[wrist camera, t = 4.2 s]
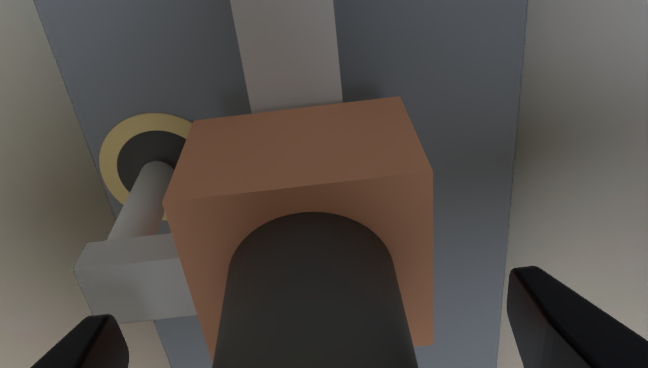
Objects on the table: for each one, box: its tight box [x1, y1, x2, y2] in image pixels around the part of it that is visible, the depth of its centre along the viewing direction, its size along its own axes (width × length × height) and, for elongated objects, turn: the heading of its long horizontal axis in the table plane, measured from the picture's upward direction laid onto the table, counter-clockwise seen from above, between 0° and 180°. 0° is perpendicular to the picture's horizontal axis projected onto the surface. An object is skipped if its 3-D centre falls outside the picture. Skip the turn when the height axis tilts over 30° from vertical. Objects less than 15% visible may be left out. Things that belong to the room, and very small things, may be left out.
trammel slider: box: [73, 96, 434, 368], centre depth 10 cm, size 6×4×9 cm, turn 96°
